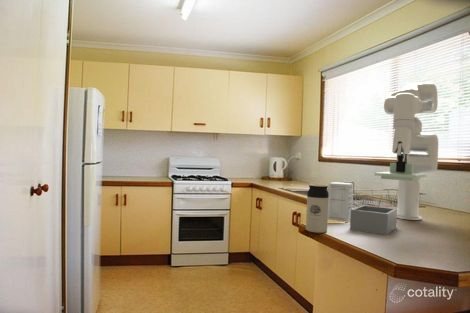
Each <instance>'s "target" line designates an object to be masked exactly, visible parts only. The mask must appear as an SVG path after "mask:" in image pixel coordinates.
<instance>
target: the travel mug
mask: <svg viewBox="0 0 470 313" xmlns="http://www.w3.org/2000/svg"><path fill="white" fill-rule="evenodd" d="M308 188H309V189H308V191H307V194H306V195H307V198H306V219H305V231H308V232H310V233H316V234H322V233H323V234H324V233H326V232H328V220H329V219H328V198H329V193H328V188H329V184H326V183H314V182H313V183H308Z"/></svg>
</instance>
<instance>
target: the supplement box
mask: <svg viewBox="0 0 470 313" xmlns="http://www.w3.org/2000/svg"><path fill="white" fill-rule="evenodd" d="M327 191H328V193H329V198H328V220H331V221H338V222H339V221H341V222H349V221H350V217H351V209H354V208H353V202H354V201H353V200H354V182H353V183H352V182H338V181H337V182H336V181H334V182H333V181H332V182H329V183H328V189H327Z"/></svg>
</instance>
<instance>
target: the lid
mask: <svg viewBox="0 0 470 313" xmlns="http://www.w3.org/2000/svg"><path fill="white" fill-rule="evenodd" d="M374 176H377V177H378V176H379V177H380V179H381V180H395V181H399V180H406V181H415V180H419V181H420V180H421V179H422V178H427V174H415V173H413V164H405V172H396V162H390V163H389V171H382V172H381V171H380V172H374Z"/></svg>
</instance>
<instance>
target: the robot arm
mask: <svg viewBox="0 0 470 313" xmlns="http://www.w3.org/2000/svg"><path fill="white" fill-rule="evenodd" d="M438 103H439V102H438V89H437V86H436V85H435V83H433V82H414V83H408V84H406V85H405V86H404V87H403V88H402V89H401V90H397V91H395V92H391V93H389V94H388V95H386V98H385V99H384V103H383V109H384V112H385V113H386V114H387V115H393V122H392V124H393V125H392V129H393V130H394V132H393V139H392V140H393V141H392V153H393V154H396V162H395V163H396V172H405V164H413V173H415V174H426V175H434V174H436V172H437V171H438V166H439V164H438V163H439V162H438V161H439V159H438V158H439V138H438V135H437V134H436V133H434V132H422V129H423V123H422V121H421V120H420V118H419V117H418V116H417V115H418V114H434V113H435V112H436V111H437V110H438ZM412 152H413V153H412ZM418 153H426V154H418ZM397 188H398V189H397V190H398V191H397V208H396V209H397V219H400V220H408V221H410V220H411V221H421V220H422V219H423V217H422V216H421V215H419V210H420V209H419V207H420V191H421V190H420V188H421V184H420V180H415V181H406V180H398V187H397Z"/></svg>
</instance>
